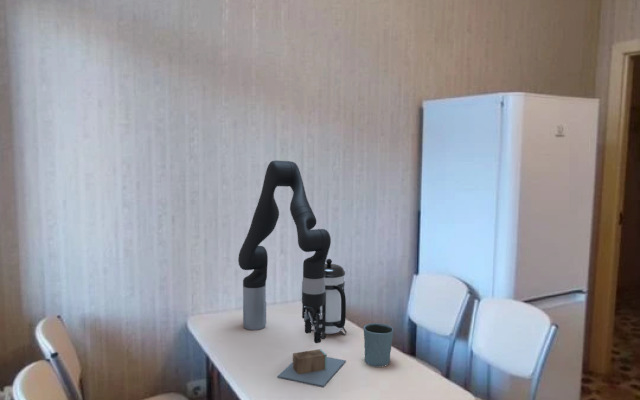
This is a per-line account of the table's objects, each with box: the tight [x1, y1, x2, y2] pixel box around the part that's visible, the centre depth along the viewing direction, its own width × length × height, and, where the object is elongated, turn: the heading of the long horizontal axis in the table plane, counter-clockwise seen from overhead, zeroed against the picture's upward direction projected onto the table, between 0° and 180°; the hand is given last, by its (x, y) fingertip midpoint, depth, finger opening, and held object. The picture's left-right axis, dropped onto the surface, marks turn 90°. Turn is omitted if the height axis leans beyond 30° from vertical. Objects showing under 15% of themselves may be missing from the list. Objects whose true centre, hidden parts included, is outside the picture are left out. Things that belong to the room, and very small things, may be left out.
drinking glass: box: [363, 322, 394, 368], centre depth 171 cm, size 10×10×12 cm
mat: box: [276, 356, 346, 388], centre depth 165 cm, size 20×16×1 cm
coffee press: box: [312, 258, 347, 340], centre depth 195 cm, size 17×16×30 cm
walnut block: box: [292, 348, 328, 374], centre depth 164 cm, size 5×5×10 cm
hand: (312, 337), depth 164 cm, fingers open, 8 cm apart
